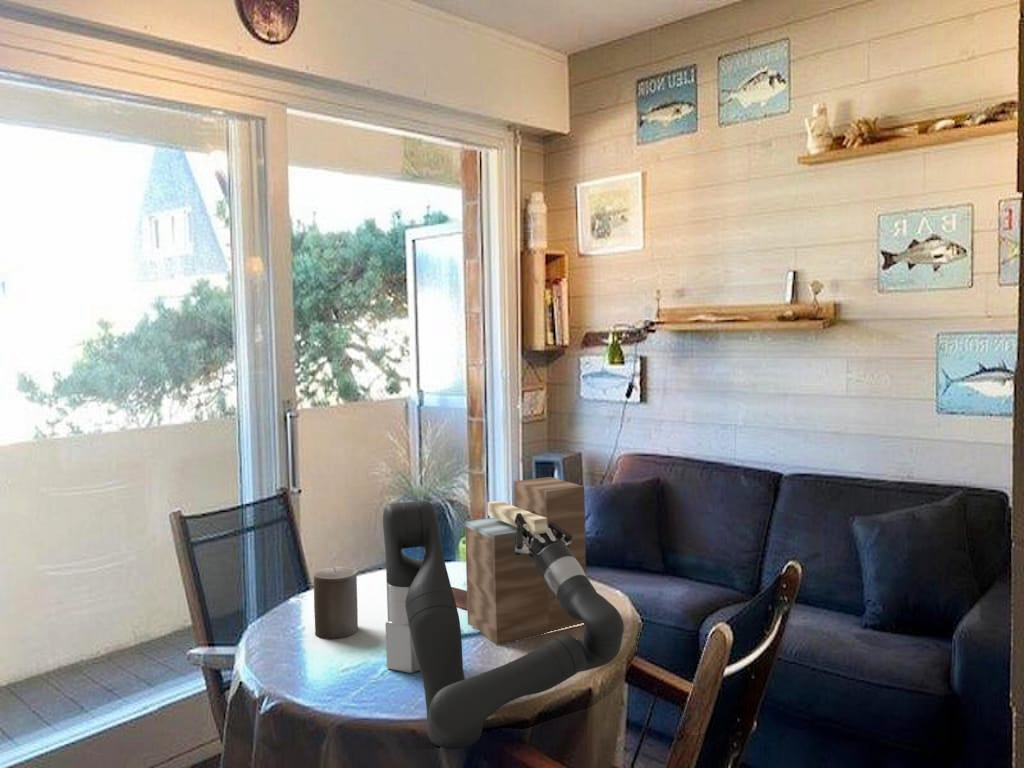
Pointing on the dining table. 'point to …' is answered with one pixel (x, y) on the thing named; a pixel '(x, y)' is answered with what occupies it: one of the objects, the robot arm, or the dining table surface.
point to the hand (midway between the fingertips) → (524, 515)
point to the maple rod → (509, 514)
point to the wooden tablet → (460, 598)
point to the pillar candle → (335, 602)
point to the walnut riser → (520, 565)
